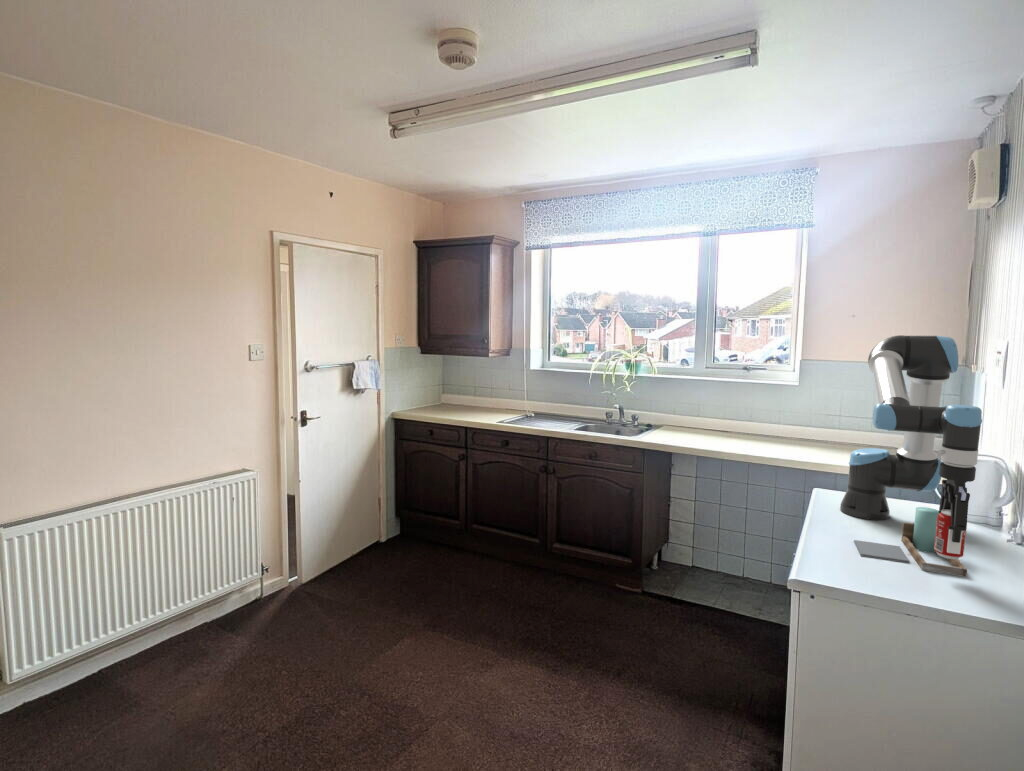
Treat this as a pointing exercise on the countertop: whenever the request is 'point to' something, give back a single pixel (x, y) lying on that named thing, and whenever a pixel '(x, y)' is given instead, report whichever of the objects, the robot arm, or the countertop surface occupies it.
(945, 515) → the beverage can
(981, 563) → the countertop surface
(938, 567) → the dispenser rack
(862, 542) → the coaster
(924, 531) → the can
